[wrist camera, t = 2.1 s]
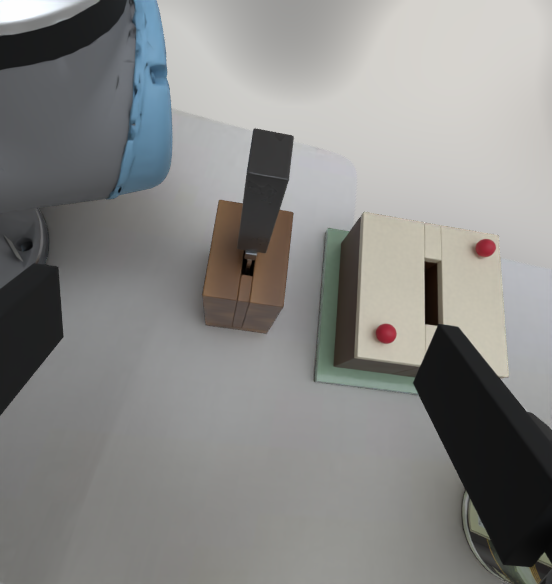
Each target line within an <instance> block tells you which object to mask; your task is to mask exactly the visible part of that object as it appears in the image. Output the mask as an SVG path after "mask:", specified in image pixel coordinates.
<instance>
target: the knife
mask: <svg viewBox="0 0 552 584" xmlns="http://www.w3.org/2000/svg"><path fill="white" fill-rule="evenodd" d="M293 139H294V137H293V136H292V135H287V134H282V133H276V132H270V131H265V130H261V129H254V130H253V135H252V142H251V149H250V155H249V162H248V168H247V175H246V183H245V190H244V198H243V206H242V214H241V222H240V229H239V237H238V245H237V249H240V250H246V251H245V257H244V258H245V259H246V261H245V266H244V271H243V275H249V271H250V267H251V262H252V260H256V257H257V252H259V253H266V252H267V249H268V245H269V242H270V239H271V236H272V232H273V229H274V226H275V223H276V220H277V216H278V213H279V210H280V207H281V204H282V200H283V197H284V194H285V191H286V188H287V184H288V181H289V174H290V165H291V157H292V148H293Z"/></svg>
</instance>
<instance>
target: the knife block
mask: <svg viewBox="0 0 552 584" xmlns="http://www.w3.org/2000/svg"><path fill="white" fill-rule="evenodd" d="M242 206H243V204H242V203H236V202H230V201H224V200H219V202H218V208H217V214H216V219H215V225H214V231H213V237H212V242H211V248H210V254H209V260H208V265H207V271H206V277H205V282H204V288H203V294H202V296H203V305H204V314H205V324H206V325H209V326H216V327H223V328H230V329H238V330H245V331H252V332H260V333H267V332H268V331H269V329H270V327H271V326H272V324H273V323H274V321H275V319H276V318H277V316H278V315H279V313H280V311H281V310H282V308H283V306H284V297H285V288H286V278H287V269H288V260H289V250H290V241H291V231H292V222H293V212H289V211H283V210H279V213H278V216H277V220H276V223H275V226H274V229H273V232H272V236H271V239H270V242H269V245H268V249H267V252H266V253H259V252H257V257H256V260H252V262H251V267H250V271H249V275H243V271H244V266H245V261H246V259H245V258H244V257H245V251H246V250H240V249H237V245H238V237H239V229H240V222H241V214H242Z"/></svg>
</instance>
